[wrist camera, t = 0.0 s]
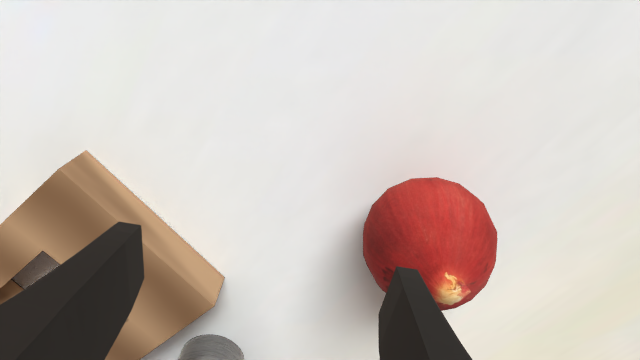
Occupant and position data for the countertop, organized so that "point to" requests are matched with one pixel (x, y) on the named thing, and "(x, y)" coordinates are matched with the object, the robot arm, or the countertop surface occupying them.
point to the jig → (89, 223)
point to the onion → (432, 238)
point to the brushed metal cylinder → (211, 349)
